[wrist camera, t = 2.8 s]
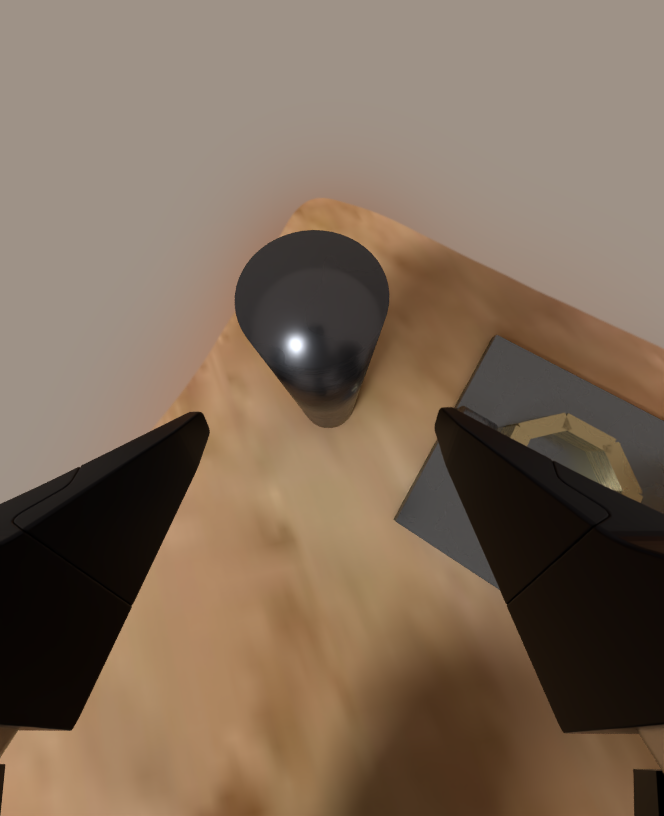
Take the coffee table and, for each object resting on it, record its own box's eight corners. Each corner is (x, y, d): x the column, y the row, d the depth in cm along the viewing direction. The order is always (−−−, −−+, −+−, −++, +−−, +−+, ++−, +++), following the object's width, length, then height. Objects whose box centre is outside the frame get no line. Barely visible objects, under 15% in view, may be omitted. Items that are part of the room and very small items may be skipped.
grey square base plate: (612, 663, 15) (663, 701, 13) (393, 519, 17) (403, 529, 15) (689, 440, 18) (744, 437, 15) (492, 337, 20) (513, 321, 17)
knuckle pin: (318, 437, 18) (278, 397, 6) (295, 394, 19) (210, 271, 6) (362, 412, 19) (419, 319, 6) (337, 370, 19) (339, 207, 7)
